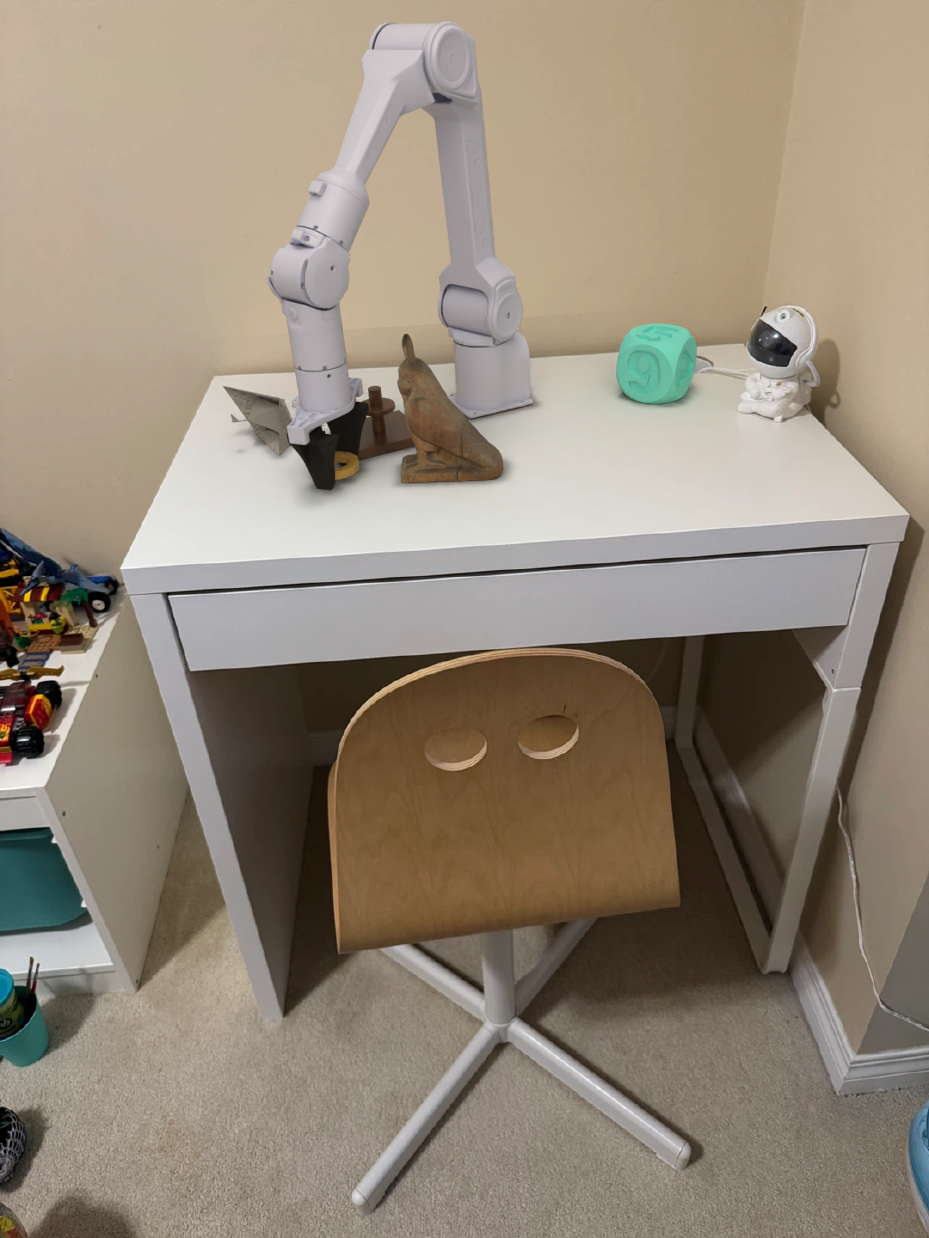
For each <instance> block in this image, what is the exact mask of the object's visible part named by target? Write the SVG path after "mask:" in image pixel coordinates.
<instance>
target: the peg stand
mask: <svg viewBox="0 0 929 1238" xmlns="http://www.w3.org/2000/svg"><path fill="white" fill-rule="evenodd" d="M367 394H368V398H367V399H363V400H362V401H361V402H366V403H368V404H369V412H368V414H367V416H366V419H365V422H364V425H363V429H362V433H361V439H360V447H359V456H358V461H361V460H365V459H369V458H374V457H378V456H382V455H385V454H389V453H394V452H399V451H402V450H405V449H410V448H415V444H414V442H413V440H412V437H411V435H410V433H409V431H408V429H407V426H406V421H405V413H404V412H402V411H401V410H400V409H397V410H396V402H395V400H393V399H391V398H389V397H388V398H387V397H383V395H382V387H381V386H380V385H371V386H368V388H367Z"/></svg>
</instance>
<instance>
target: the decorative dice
mask: <svg viewBox="0 0 929 1238" xmlns="http://www.w3.org/2000/svg"><path fill="white" fill-rule="evenodd" d="M620 344H621V345H620V346H619V350H618V354H617V360H616V368H615V373H616V375H615V376H616V381H617V385H618V386H619V388H620V390H621V391H622V393H624V395H626V396H627V397H628V398H629V399H630V400H632V401H635V402H638V403H643V404H649V405H660V404H661V405H662V404H669V403H674V402H676V401H679V400H681V399H682V398H683V397H684V396H685V395H686V393H687V392H688V390H689V388H690V386H691V384H692V381H693V378H694V374H695V370H696V365H697V357H698V348H697V346H698V345H697V341H696V340H695V338H694V336H693V334H691V333H690V331H689V330H688V329H686V328H685V327H683V326H681V325H676V324H670V323H647V324H641V325H638V326H635V327H633V328H631V329H630V330H629V331H628V332H627V333H626V334H625V336H624V338H623V339H622V342H621V343H620Z"/></svg>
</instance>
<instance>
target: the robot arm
mask: <svg viewBox="0 0 929 1238" xmlns="http://www.w3.org/2000/svg"><path fill="white" fill-rule="evenodd" d="M360 61H361V69H362V74H363V83H362V85H361V89H360V90H359V93H358V94H359V95H358V97H357V99H356V103H355V105H354V109H353V111H352V114H351V118H350V120H349V123H348V126H347V130H346V132H345V135H344V138H343V140H342V144H341V147H340V150H339V152H338V156H337V159H336V160H335V164H334V167H332V168H331V169H328V170H326V171H323V172H321V173H319V174H318V175H317V176H316V179H315V180H312V181H311V183H310V185H309V187H308V190H307V193H308V194H309V195H308V198H307V200H306V202H305V205H304V207H303V210H302V211H301V213H300V217H299V219H298V222H297V223H296V226H295V228H294V229H293V231H292V233H291V235H290V240H289V242H288V243H286V244H284V245H283V247H279V249H278V250H277V252H275V254H274V255H273V257H272V260H271V262H270V268H269V275H267V276H266V283H267V284H268V287H269V289H270V291H271V293H272V295H274V296H275V297H276V298H277V299H278V300H279V303H280V306H281V312H282V314H283V315H284V316H285V320H286V326H287V331H288V337H289V344H290V350H291V356H292V362H293V368H294V374H295V375H294V376H295V379H296V386H297V393H298V395H296V396H295V397H293V399H292V400H291V406H292V408H295V409H296V410H295V413H294V415H293V417H292V422H291V423H290V424H289V425H288V426H287V431H288V433H287V440H288V443H289V444H290V446H291V448H293V450H294V451H295V452H296V453H297V454H298V456H299V457H300V459H301V460H302V461H303V463H304V465H305V467H306V469H307V471H308V474H309V476H310V478H311V480H312V482H313V484H314V487H315V489H317V490H326V491H332V490H334V489H335V485H336V480H335V468H336V467H335V464H336V463H335V452H338V451H342V452H350V453H353V454H354V455H356V456H359V447H360V439H361V433H362V429H363V425H364V422H365V419H366V417H368V416H367V414H368V412H369V404H368V403H366V402H362V401H359V400H358V401H357V398H361V397H362V396H363V395H364V386H363V379H362V378H361V377H351V376H350V374H349V365H348V359H347V351H346V343H345V336H344V335H345V334H344V326H343V320H342V313H341V305H340V302H341V300H342V299H343V298H344V296H345V294H346V293H347V291H348V289H349V284H350V271H349V265H350V263H351V262H350V261H351V257H350V256H351V253H350V251H351V249H352V246H353V244H354V242H355V239H356V237H357V235H358V233H359V230H360V228H361V226H362V223H363V221H364V218H365V216H366V213H367V211H368V209H369V207H370V202H371V201H370V197H369V194H368V191H367V187H366V184H367V182H368V180H369V178H370V177H371V174H372V172H373V170H374V168H375V167H376V165H377V162H378V161H379V159H380V157H381V155H382V154H383V152H384V149H385V147H386V145H387V143H388V141H389V140H390V138H391V136H392V134H393V132H394V130H395V128H396V125H397V124H398V122H399V119H400V118H401V117H402V116H404V115H406V114H409V113H412V112H414V111H417V110H419V109H422V110H423V111H424V112H426V113H427V114H428V115H429V116H430V117H432V119H433V121H434V128H435V136H436V145H437V146H436V147H437V153H438V162H439V170H440V178H441V188H442V196H443V204H444V205H443V206H444V214H445V222H446V230H447V231H446V232H447V239H448V247H449V256H450V262H449V264H448V265H447V266H446V267H445V268H444V269H443V270H442V271H441V272H440V274H438V275H439V276H438V279H439V281H438V282H439V294H438V300H437V315H438V318H439V320H440V321H439V322H440V323H441V325H443V326H444V327H445V328H447V331H448V337H450V338H452V344H453V345H452V346H453V347H452V348H453V363H454V378H455V379H454V380H455V381H454V382H455V393H450V394H447V397H448V398H449V399H450V400H451V401H452V403H453V404H454V405H455V406H456V407H457V408H458V409H459V410H460V411H461V412H462V413H463V415H464V416H465V417H466V418H467V419H474V418H479V417H484V416H488V415H492V414H497V413H500V412H504V411H508V410H513V409H516V408H520V407H525V406H529V405H532V404H533V403H534V399H532V398H531V353H530V349H529V345H528V341H527V339H526V337H525V335H524V334H523V333H522V332H521V331H519V330H518V329H519V327H520V326H521V323H522V319H523V313H524V309H523V307H524V306H523V301H522V298H521V295H520V293H519V291H518V287H517V281H516V274H514V272H513V271H512V270H511V269H510V268H509V267H508V266H507V265H506V264H505V263H504V262H503V261H502V260H501V259H500V258H499V257H498V255H496V246H495V233H494V223H493V212H492V211H493V210H492V199H491V185H490V175H489V174H490V173H489V164H488V151H487V140H486V128H485V115H484V105H483V104H484V103H483V94H482V88H481V85H480V82H479V74H478V64H477V53H476V41H475V39H474V38H473V37H472V35H470V34H469V33H468V32H467V31H466V30H465V29H464V28H463V27H462V26H460V25H459V24H458V23H457V22H454V21H451V20H444V21H441V22H430V23H428V22H427V23H426V22H424V23H423V22H422V23H397V22H391V21H389V22H387V21H386V22H384V23H381V24H380V25H378V26H377V27H376V28H375V30H374V31H373V32H372V34H371V37H370V38H369V42H368V47H367V49H366V51H365V53H364V54H363V56H362V58H361V60H360ZM325 424H326V425H327V427H328V431H329V432H330V433H327V432H326V430H325V429H323V425H325ZM338 464H339V466H345V465H347V463H341V462H338Z"/></svg>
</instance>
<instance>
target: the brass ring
mask: <svg viewBox="0 0 929 1238" xmlns="http://www.w3.org/2000/svg"><path fill="white" fill-rule="evenodd" d="M339 462H341V463H347V465H342V466H340V467H335V481H336V480H343V479H347V478H349V477H351V476H354V475H355V474H356V473H357V472H358V471H359V470H360V460H358V456H356V455H354V454H353V453H350V452H342V451H338V452H335V464H336V463H339Z"/></svg>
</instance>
